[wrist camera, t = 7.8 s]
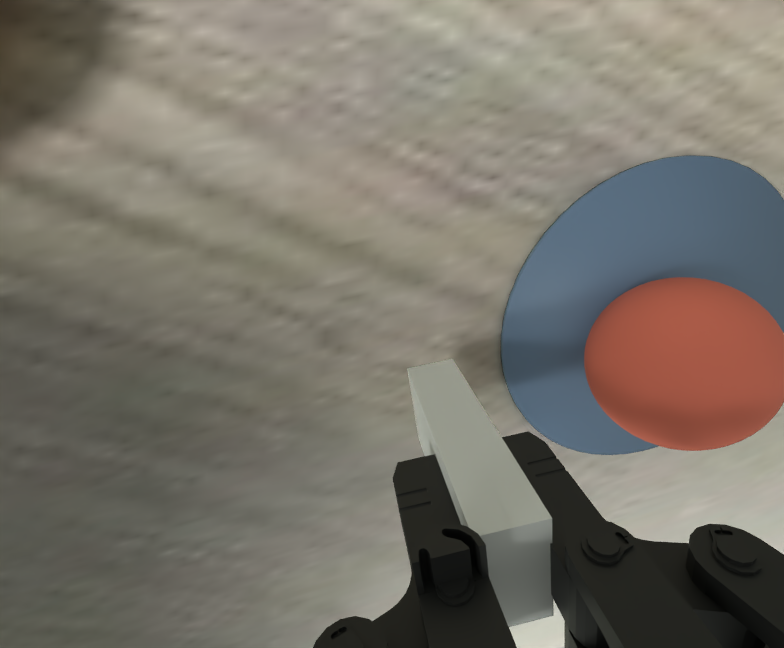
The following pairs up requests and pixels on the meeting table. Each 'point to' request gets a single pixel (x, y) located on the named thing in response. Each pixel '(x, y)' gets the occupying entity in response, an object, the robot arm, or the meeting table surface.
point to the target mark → (631, 278)
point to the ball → (686, 363)
